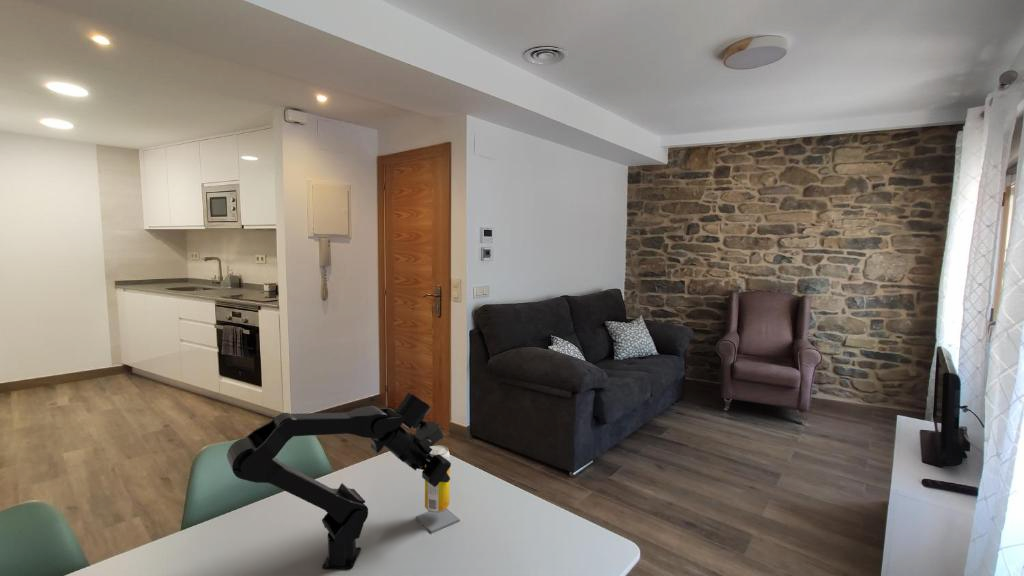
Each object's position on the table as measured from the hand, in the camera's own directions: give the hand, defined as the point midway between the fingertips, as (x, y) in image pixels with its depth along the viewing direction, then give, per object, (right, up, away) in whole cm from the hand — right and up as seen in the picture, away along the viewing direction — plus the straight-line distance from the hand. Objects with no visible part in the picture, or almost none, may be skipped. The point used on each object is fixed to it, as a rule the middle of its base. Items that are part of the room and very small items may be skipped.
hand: (442, 475), depth 117 cm
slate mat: (-1, -11, 0) cm, 11 cm away
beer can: (-1, -8, 0) cm, 8 cm away
